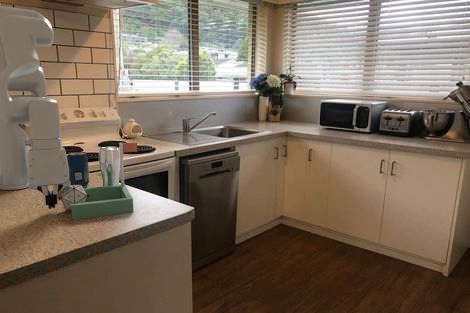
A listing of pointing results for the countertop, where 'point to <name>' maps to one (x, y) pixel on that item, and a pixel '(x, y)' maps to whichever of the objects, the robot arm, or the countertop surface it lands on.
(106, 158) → the beer glass
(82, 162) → the soda can
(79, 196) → the game die
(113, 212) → the green open box
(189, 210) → the countertop surface
